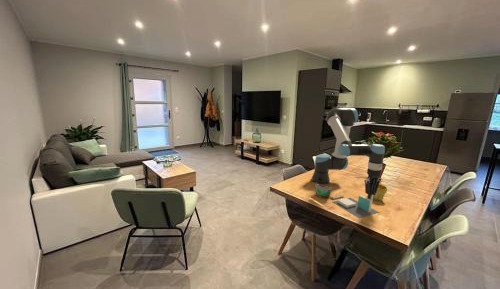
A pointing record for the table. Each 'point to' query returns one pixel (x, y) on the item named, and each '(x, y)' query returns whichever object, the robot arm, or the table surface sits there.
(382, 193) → the plant pot
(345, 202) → the tile
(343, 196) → the turner
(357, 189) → the table surface
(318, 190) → the food container
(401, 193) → the table surface
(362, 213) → the mat
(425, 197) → the table surface
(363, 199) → the tile
